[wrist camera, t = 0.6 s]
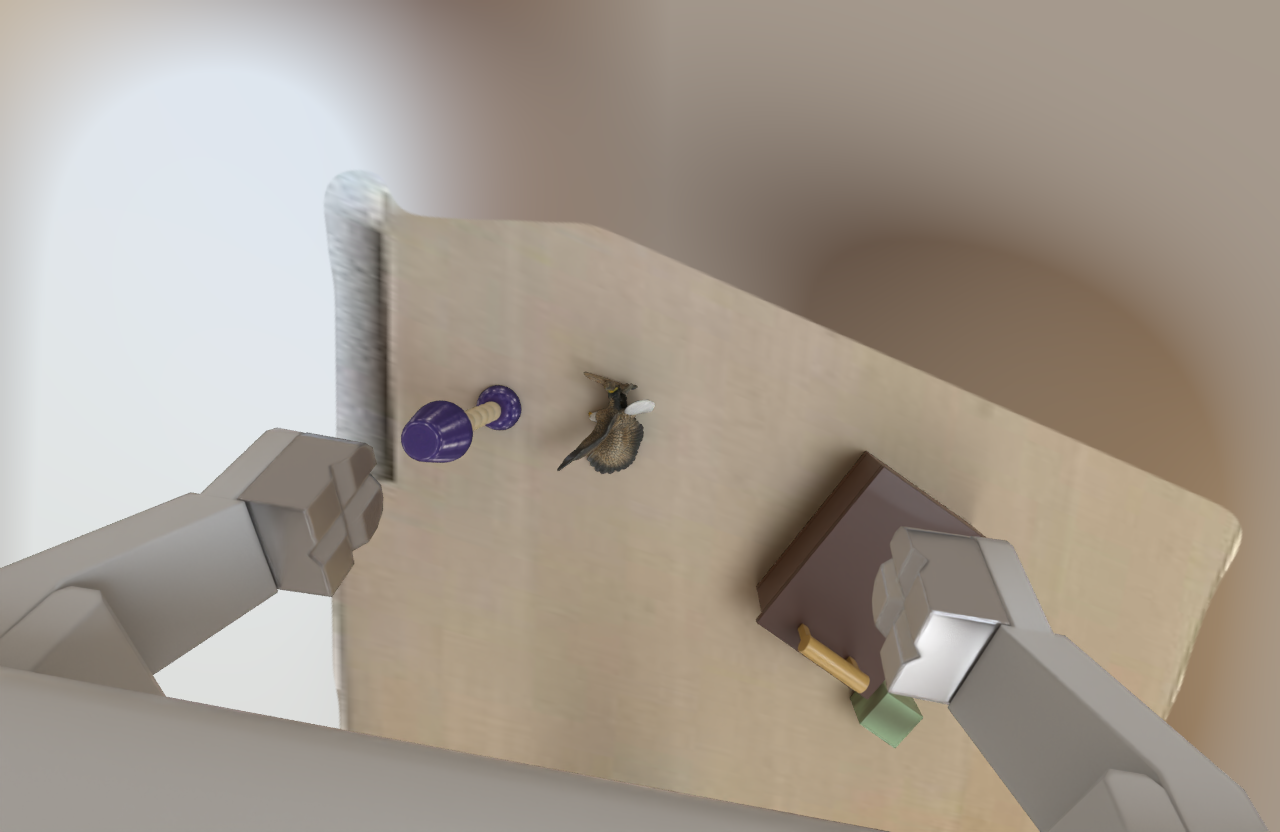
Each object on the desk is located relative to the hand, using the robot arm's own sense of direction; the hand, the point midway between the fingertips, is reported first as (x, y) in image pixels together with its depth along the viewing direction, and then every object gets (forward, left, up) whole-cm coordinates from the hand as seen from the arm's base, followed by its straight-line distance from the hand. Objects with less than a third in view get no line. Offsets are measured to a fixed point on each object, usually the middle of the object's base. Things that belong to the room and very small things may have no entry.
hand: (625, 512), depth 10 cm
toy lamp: (+2, +19, -49) cm, 53 cm away
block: (-39, -3, -49) cm, 63 cm away
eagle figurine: (-4, +10, -49) cm, 50 cm away
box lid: (-25, -6, -44) cm, 51 cm away
